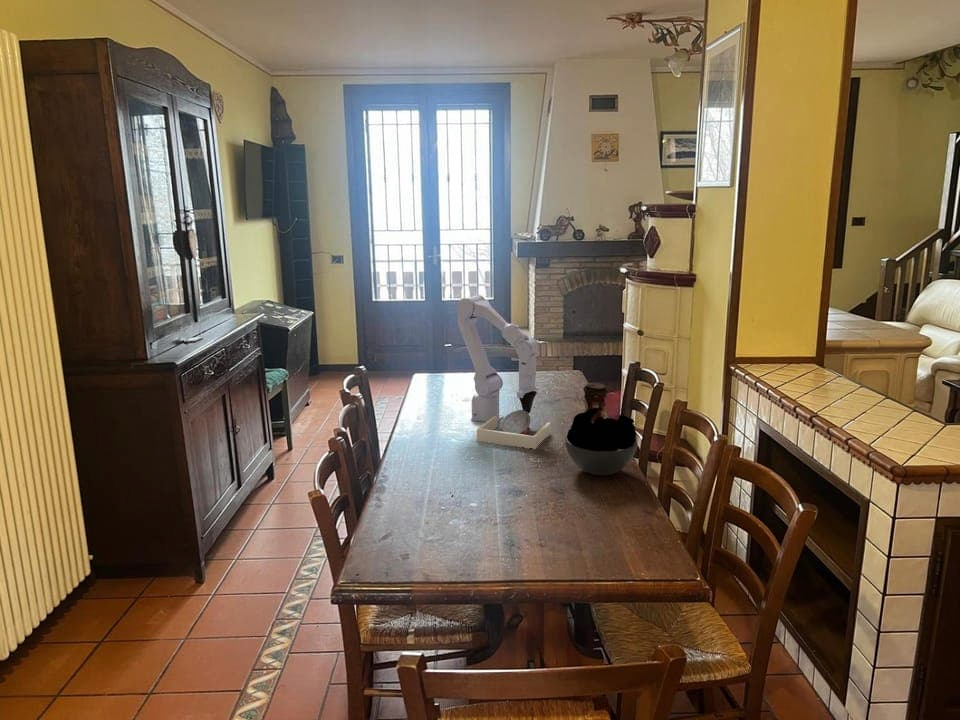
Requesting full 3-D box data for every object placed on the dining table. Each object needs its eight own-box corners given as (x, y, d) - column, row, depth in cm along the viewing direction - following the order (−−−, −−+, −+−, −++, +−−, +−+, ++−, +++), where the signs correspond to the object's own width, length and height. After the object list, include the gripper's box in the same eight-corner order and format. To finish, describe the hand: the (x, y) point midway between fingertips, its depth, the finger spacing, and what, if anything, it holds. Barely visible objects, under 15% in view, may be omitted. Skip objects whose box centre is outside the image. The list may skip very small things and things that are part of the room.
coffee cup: (578, 422, 235) (579, 386, 232) (586, 415, 242) (587, 380, 239) (602, 426, 231) (604, 389, 228) (610, 419, 238) (611, 383, 235)
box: (476, 440, 218) (476, 429, 217) (494, 426, 231) (494, 415, 230) (535, 449, 210) (535, 437, 209) (550, 434, 223) (550, 422, 222)
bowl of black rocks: (552, 465, 198) (553, 403, 193) (611, 455, 204) (613, 395, 200) (586, 491, 179) (588, 424, 175) (650, 480, 186) (653, 415, 182)
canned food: (530, 451, 222) (539, 429, 216) (502, 452, 218) (511, 430, 212) (519, 426, 230) (528, 405, 224) (492, 427, 226) (500, 405, 220)
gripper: (531, 380, 219) (530, 420, 223) (545, 370, 232) (544, 407, 235) (511, 378, 222) (510, 417, 225) (526, 368, 235) (525, 405, 238)
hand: (526, 412), depth 231 cm, fingers closed
